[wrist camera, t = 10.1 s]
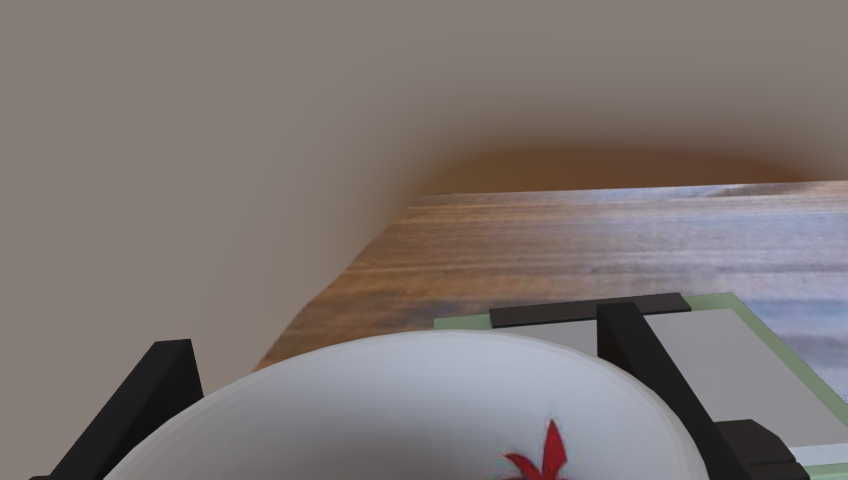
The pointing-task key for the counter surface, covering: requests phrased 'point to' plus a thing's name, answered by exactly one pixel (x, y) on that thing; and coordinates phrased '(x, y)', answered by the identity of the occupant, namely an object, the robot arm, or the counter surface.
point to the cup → (425, 417)
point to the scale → (710, 365)
